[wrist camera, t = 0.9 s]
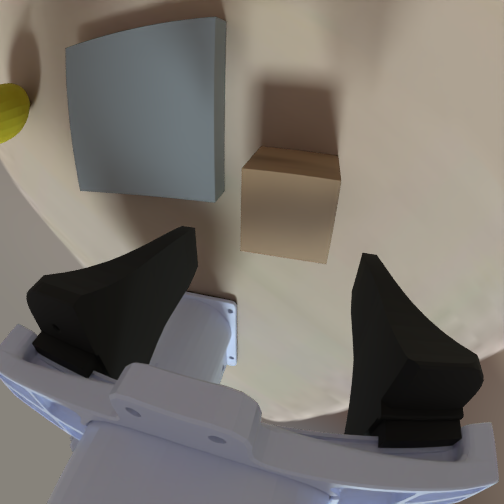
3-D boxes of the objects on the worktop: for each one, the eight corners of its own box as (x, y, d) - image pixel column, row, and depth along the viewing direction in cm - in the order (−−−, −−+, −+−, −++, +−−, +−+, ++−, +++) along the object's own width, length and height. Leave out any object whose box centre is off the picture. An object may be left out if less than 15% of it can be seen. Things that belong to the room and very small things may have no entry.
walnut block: (328, 223, 21) (326, 264, 17) (258, 213, 22) (240, 250, 18) (338, 155, 18) (341, 180, 14) (261, 146, 19) (241, 168, 15)
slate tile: (224, 191, 22) (215, 202, 20) (94, 181, 24) (80, 190, 22) (226, 21, 15) (215, 16, 13) (82, 46, 17) (65, 48, 15)
